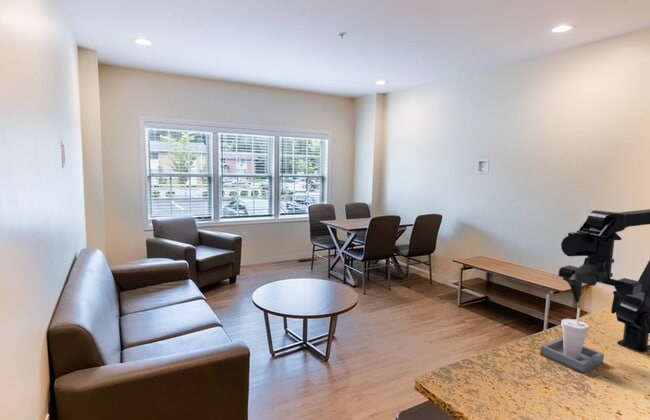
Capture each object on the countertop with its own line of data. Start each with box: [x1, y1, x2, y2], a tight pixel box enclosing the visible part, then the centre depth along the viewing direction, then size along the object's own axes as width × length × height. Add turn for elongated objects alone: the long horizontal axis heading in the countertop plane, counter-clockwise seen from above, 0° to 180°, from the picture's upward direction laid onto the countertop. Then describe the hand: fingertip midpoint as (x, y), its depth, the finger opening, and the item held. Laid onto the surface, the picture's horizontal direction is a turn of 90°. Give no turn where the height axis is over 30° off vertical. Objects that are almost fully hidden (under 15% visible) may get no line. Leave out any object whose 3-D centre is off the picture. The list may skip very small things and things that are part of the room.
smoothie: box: [560, 307, 590, 360], centre depth 102 cm, size 6×6×14 cm
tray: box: [539, 336, 605, 374], centre depth 102 cm, size 11×11×2 cm
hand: (594, 307), depth 106 cm, fingers open, 9 cm apart
